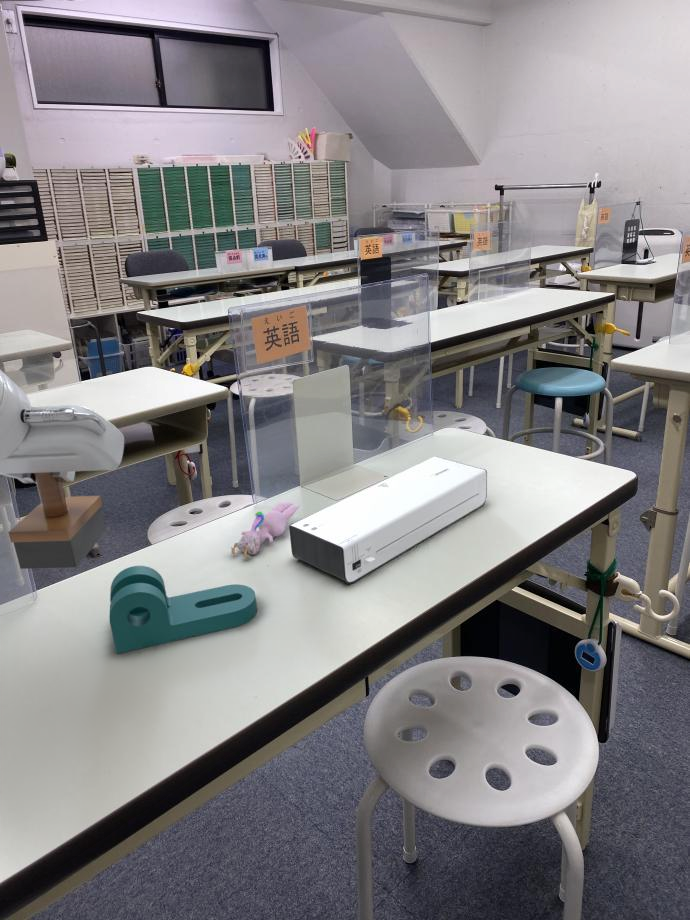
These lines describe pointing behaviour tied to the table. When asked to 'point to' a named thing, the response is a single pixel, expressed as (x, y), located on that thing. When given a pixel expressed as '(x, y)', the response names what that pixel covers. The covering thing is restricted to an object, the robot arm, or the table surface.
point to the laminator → (388, 518)
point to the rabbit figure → (265, 528)
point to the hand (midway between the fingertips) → (50, 475)
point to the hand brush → (57, 527)
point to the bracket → (171, 610)
